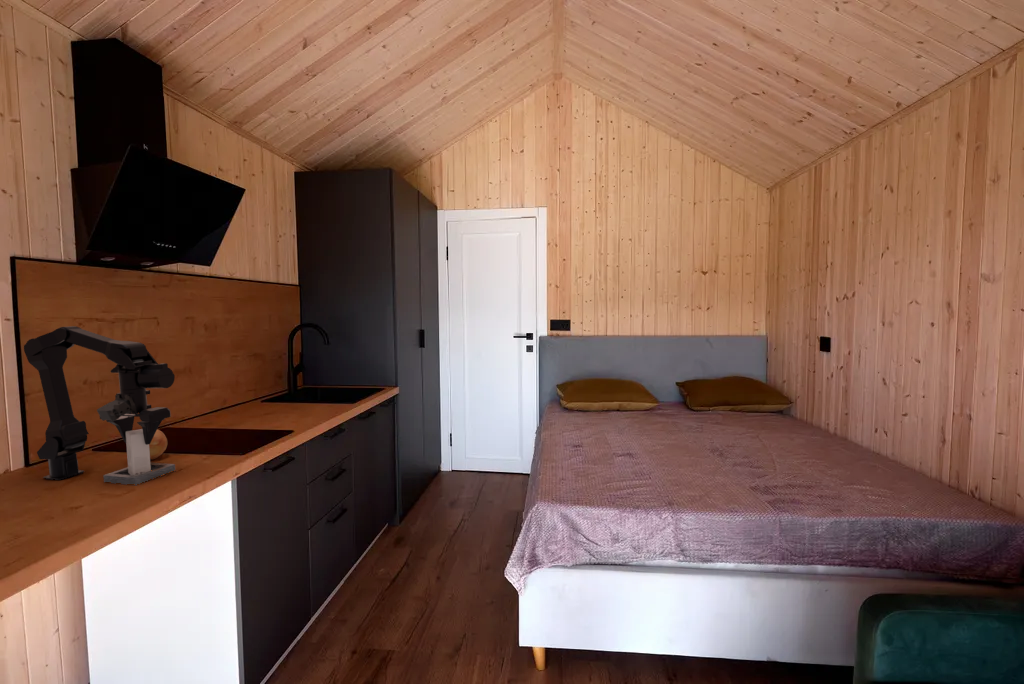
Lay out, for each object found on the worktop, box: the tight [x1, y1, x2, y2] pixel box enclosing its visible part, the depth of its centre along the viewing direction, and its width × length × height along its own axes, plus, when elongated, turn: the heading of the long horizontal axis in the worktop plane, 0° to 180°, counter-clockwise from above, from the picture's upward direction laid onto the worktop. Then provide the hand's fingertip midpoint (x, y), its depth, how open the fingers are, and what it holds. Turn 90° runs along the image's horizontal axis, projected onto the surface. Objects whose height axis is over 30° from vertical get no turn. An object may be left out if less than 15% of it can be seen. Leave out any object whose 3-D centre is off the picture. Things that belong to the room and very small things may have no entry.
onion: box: [149, 428, 168, 460], centre depth 153 cm, size 10×10×10 cm
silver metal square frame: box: [102, 461, 176, 486], centre depth 137 cm, size 11×11×2 cm
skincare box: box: [125, 428, 151, 476], centre depth 137 cm, size 6×4×12 cm
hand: (137, 443), depth 137 cm, fingers closed on skincare box, 7 cm apart
